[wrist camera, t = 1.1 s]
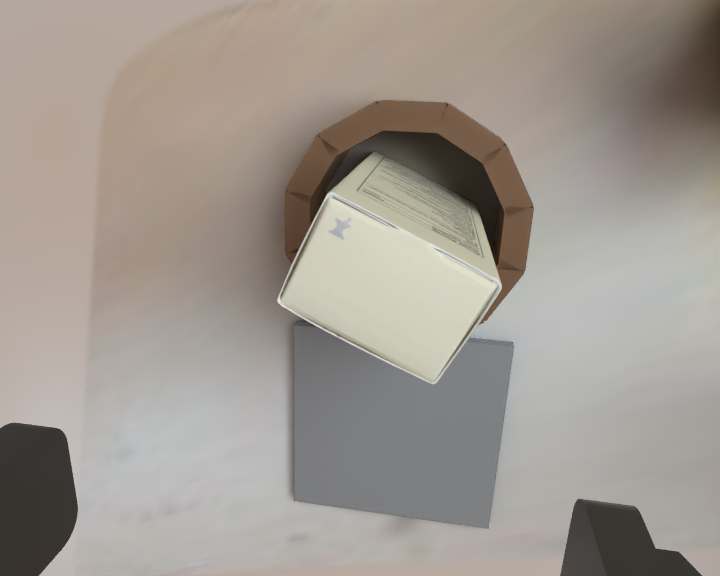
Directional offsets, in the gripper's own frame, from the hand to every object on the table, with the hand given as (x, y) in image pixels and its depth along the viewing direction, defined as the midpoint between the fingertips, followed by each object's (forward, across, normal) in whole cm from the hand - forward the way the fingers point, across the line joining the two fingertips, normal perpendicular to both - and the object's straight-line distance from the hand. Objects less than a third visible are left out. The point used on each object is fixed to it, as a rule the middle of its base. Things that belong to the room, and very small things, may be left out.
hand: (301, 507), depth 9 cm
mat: (+22, 0, +12) cm, 25 cm away
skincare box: (+22, 0, 0) cm, 22 cm away
